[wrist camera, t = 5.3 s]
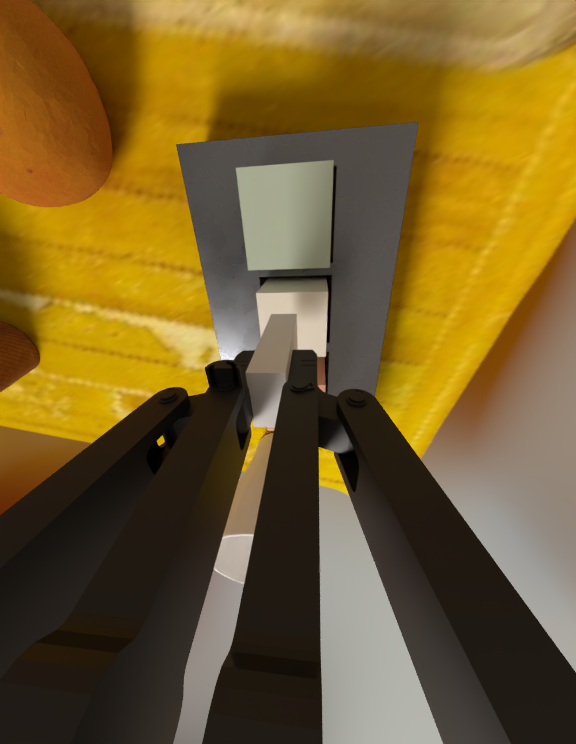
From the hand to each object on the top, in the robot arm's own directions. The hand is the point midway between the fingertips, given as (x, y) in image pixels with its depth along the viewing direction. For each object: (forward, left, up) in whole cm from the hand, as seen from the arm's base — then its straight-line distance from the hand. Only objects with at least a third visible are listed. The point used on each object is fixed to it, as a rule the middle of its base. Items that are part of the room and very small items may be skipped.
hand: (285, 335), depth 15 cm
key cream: (0, 0, -7) cm, 7 cm away
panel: (0, 0, -9) cm, 9 cm away
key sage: (-6, 0, -6) cm, 8 cm away
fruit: (-13, -17, -10) cm, 23 cm away
